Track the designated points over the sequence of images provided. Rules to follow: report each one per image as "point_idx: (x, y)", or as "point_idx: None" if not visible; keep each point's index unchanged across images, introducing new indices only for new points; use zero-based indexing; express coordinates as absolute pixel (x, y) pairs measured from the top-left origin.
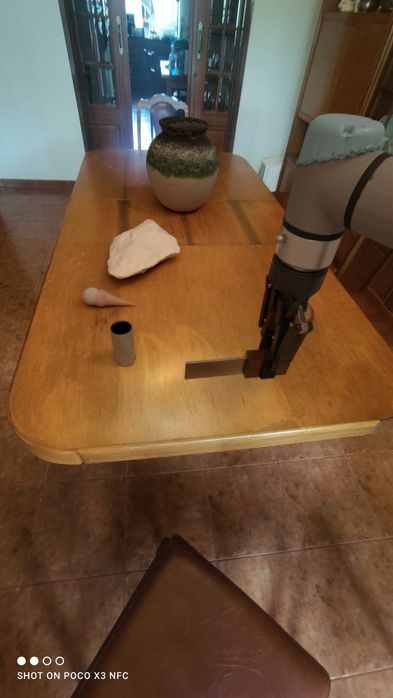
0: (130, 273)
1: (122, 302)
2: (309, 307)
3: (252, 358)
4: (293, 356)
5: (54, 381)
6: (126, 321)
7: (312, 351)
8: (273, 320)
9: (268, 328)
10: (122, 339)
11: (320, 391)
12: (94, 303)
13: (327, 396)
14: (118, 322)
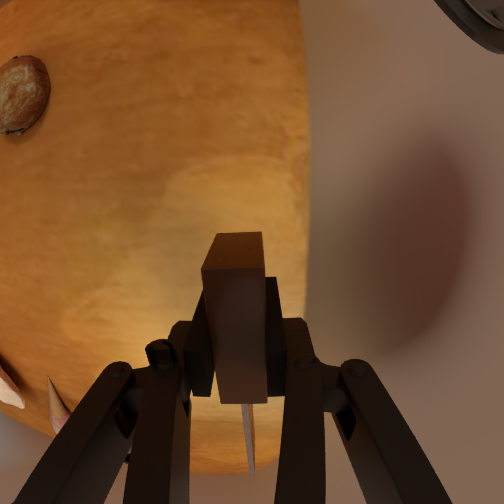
0: (12, 392)
1: (54, 398)
2: (7, 69)
3: (257, 396)
4: (388, 399)
5: (197, 457)
6: None
7: (105, 61)
8: (184, 481)
9: (186, 437)
10: None
11: (220, 68)
12: None
13: (236, 58)
14: (124, 460)
